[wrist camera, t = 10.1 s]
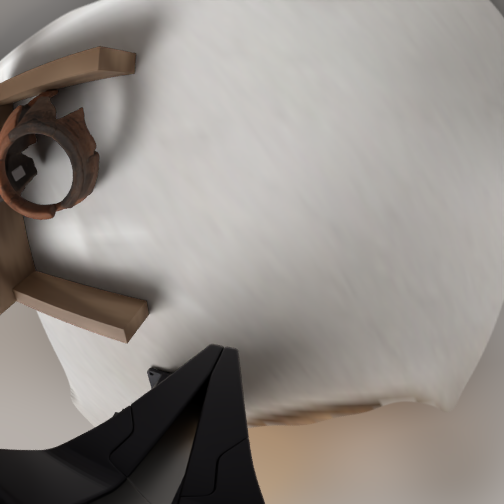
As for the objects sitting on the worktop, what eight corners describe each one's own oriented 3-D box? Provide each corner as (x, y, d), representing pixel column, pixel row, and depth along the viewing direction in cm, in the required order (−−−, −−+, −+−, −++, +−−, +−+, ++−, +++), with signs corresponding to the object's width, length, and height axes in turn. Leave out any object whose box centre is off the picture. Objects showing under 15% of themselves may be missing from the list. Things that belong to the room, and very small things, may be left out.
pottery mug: (79, 58, 17) (39, 77, 11) (136, 142, 24) (124, 192, 18) (-11, 143, 18) (-55, 191, 12) (44, 208, 25) (20, 267, 19)
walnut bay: (149, 314, 25) (95, 387, 17) (31, 279, 28) (-20, 322, 20) (135, 53, 16) (36, 38, 8) (5, 91, 18) (-67, 106, 10)
